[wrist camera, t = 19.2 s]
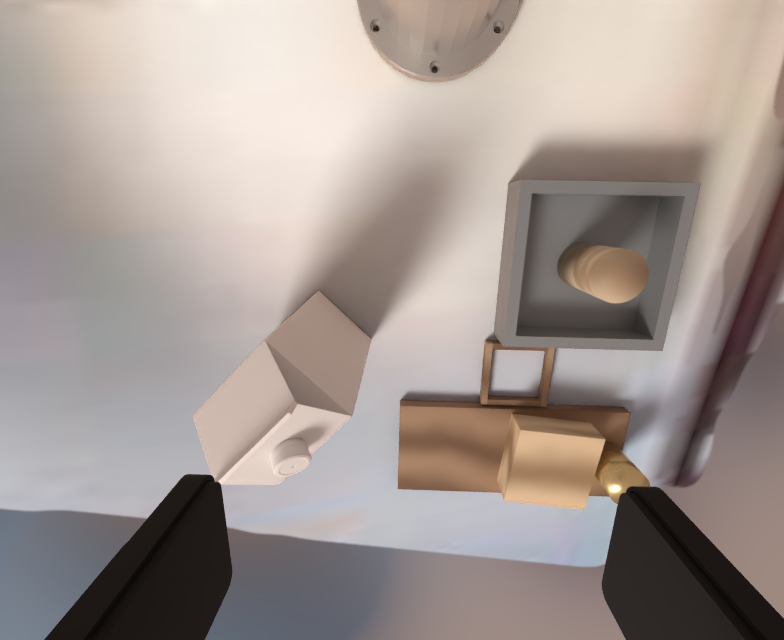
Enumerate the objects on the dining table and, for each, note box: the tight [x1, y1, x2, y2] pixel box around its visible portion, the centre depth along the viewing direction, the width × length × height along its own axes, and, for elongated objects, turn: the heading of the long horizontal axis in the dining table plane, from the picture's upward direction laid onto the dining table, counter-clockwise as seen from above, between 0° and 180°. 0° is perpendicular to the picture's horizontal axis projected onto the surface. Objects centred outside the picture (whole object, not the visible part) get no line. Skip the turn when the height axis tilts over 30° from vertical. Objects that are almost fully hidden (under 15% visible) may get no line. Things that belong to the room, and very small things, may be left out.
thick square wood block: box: [497, 414, 606, 510], centre depth 38 cm, size 8×8×3 cm
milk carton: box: [193, 291, 371, 485], centre depth 28 cm, size 7×7×19 cm
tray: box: [494, 180, 701, 351], centre depth 33 cm, size 14×14×4 cm
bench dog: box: [595, 441, 650, 504], centre depth 37 cm, size 4×4×5 cm
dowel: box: [557, 243, 649, 303], centre depth 31 cm, size 4×4×7 cm
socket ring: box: [480, 341, 555, 407], centre depth 38 cm, size 7×7×1 cm
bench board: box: [398, 400, 630, 496], centre depth 40 cm, size 10×23×1 cm, turn 89°
